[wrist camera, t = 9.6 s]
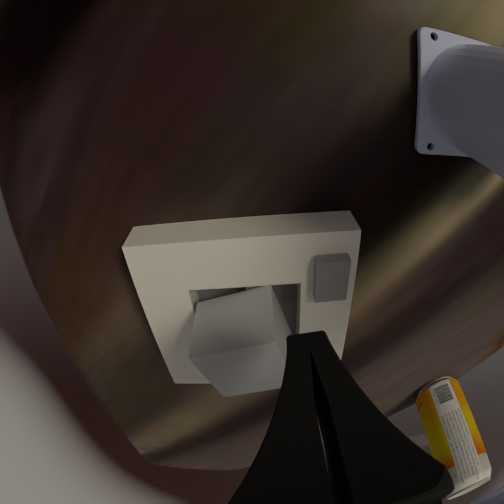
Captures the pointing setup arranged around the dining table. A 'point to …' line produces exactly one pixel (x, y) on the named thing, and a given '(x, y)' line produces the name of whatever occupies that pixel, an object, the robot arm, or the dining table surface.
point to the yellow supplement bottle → (453, 434)
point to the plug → (241, 341)
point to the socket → (244, 274)
